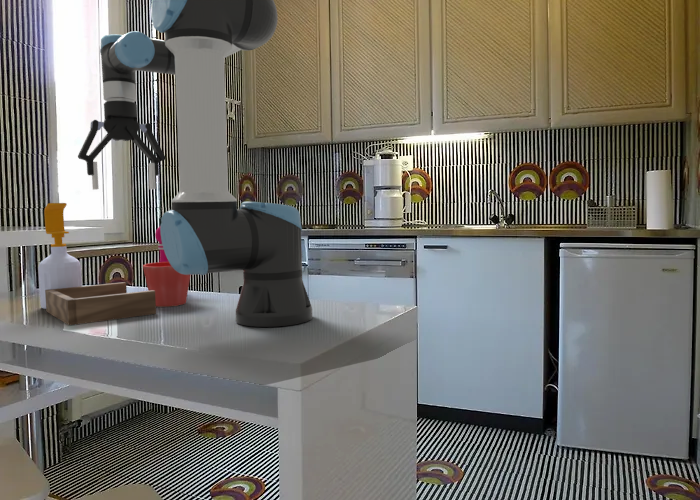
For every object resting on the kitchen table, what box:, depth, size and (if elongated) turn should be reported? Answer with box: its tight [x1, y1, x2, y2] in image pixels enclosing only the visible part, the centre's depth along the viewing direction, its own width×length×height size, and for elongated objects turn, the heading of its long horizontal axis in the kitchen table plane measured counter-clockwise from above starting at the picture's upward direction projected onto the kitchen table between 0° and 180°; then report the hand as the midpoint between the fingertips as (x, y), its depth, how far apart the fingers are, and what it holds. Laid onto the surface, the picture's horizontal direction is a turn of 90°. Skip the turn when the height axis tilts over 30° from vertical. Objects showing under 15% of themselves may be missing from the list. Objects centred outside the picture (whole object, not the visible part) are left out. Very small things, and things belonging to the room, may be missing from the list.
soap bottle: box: [37, 202, 83, 310], centre depth 140 cm, size 9×9×25 cm
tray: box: [45, 281, 157, 326], centre depth 130 cm, size 21×18×5 cm
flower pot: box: [142, 261, 191, 308], centre depth 140 cm, size 11×11×10 cm
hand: (124, 189), depth 146 cm, fingers open, 13 cm apart
